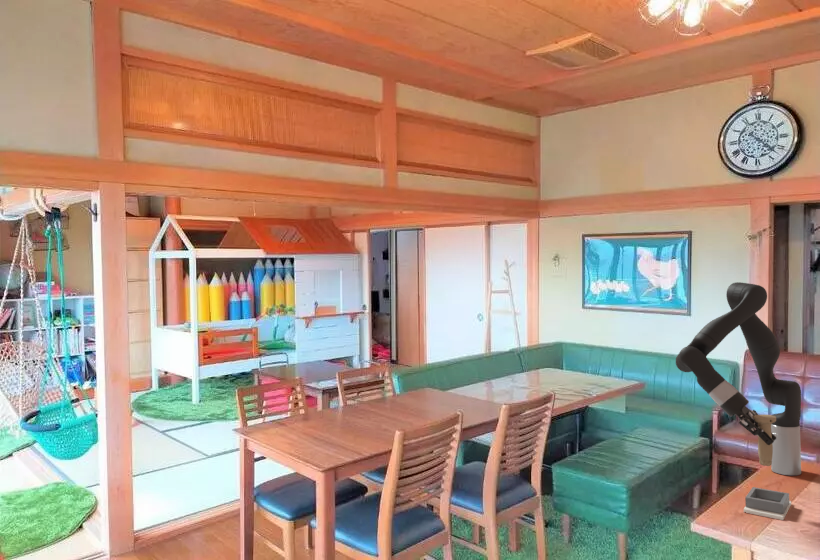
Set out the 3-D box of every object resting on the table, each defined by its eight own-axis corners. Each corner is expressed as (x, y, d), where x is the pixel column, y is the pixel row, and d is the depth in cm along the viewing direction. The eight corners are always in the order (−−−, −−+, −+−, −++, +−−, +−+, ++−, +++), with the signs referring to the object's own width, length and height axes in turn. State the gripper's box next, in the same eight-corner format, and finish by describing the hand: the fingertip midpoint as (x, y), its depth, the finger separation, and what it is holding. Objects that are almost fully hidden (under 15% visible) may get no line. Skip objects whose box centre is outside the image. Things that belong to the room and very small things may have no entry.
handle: (780, 466, 185) (779, 417, 185) (763, 468, 184) (762, 419, 184) (768, 461, 190) (767, 414, 190) (750, 463, 188) (749, 415, 188)
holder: (753, 497, 196) (753, 485, 196) (791, 504, 189) (790, 491, 189) (743, 512, 184) (743, 499, 184) (783, 520, 178) (782, 506, 178)
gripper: (732, 394, 186) (778, 440, 178) (742, 387, 197) (786, 429, 189) (713, 409, 189) (758, 454, 182) (724, 401, 200) (767, 443, 193)
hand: (772, 441), depth 185 cm, fingers closed on handle, 3 cm apart
